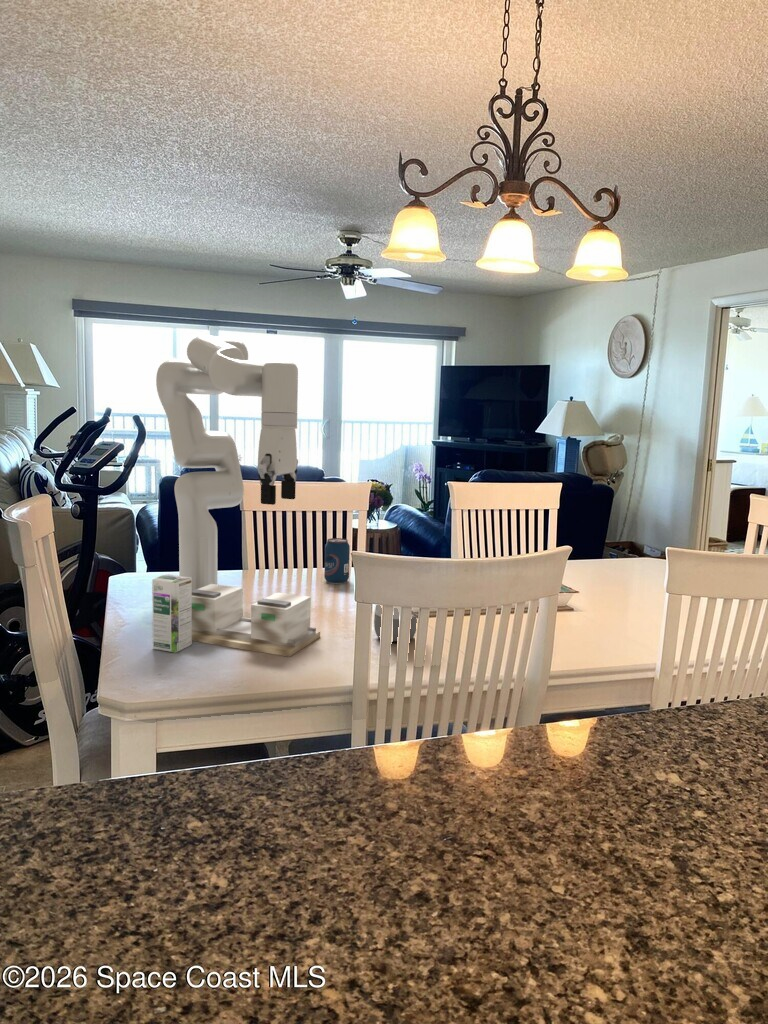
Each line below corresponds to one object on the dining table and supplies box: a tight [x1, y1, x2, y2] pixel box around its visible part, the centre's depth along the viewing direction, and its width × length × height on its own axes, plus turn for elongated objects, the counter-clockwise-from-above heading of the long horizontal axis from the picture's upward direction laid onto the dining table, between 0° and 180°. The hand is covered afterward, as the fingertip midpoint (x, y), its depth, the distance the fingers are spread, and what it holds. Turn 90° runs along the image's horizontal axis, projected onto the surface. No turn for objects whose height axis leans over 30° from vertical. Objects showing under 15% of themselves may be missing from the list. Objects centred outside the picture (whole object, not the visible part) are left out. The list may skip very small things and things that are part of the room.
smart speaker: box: [373, 604, 418, 644], centre depth 158 cm, size 10×9×14 cm
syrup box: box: [151, 574, 193, 654], centre depth 148 cm, size 6×6×14 cm
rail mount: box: [192, 584, 321, 657], centre depth 156 cm, size 28×14×10 cm, turn 70°
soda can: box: [324, 537, 351, 585], centre depth 207 cm, size 7×7×12 cm
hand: (278, 501), depth 158 cm, fingers open, 9 cm apart
